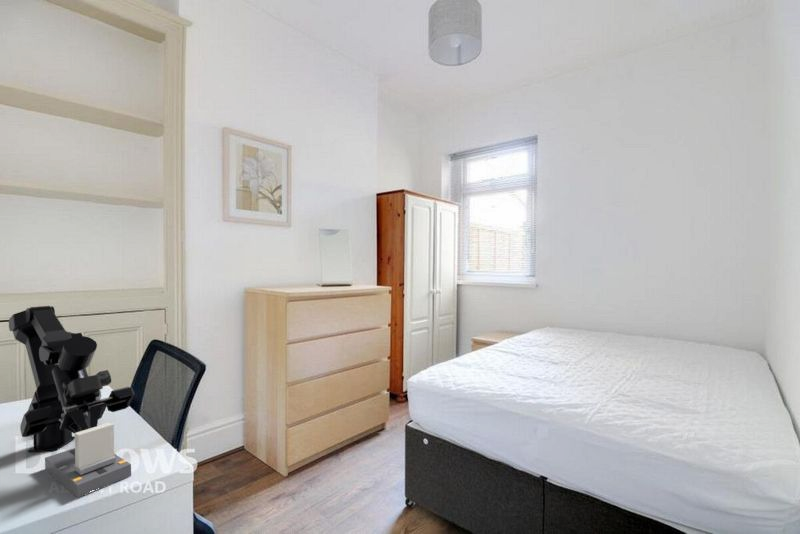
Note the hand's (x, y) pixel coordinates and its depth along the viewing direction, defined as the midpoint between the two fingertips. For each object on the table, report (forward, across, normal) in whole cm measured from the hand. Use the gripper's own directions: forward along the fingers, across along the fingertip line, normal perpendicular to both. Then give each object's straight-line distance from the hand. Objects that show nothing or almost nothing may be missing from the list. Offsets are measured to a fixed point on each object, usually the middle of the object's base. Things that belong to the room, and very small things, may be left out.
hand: (92, 442), depth 79 cm
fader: (+4, 0, +2) cm, 5 cm away
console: (+3, 0, +8) cm, 8 cm away
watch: (-21, +9, +32) cm, 39 cm away
